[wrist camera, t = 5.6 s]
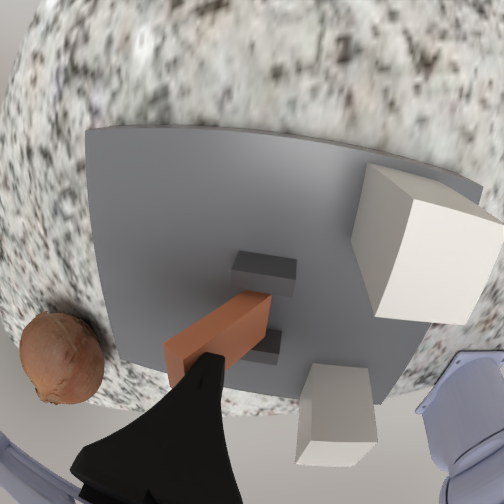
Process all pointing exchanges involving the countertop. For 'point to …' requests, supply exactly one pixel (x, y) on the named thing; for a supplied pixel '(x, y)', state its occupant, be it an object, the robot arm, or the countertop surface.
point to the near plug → (422, 247)
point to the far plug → (335, 416)
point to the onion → (61, 358)
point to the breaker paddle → (219, 334)
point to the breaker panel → (244, 247)
